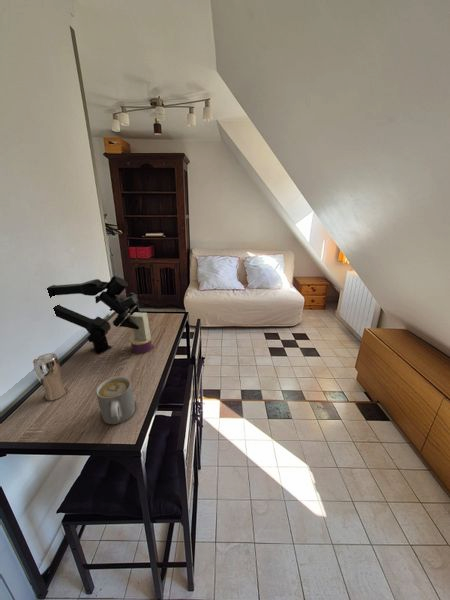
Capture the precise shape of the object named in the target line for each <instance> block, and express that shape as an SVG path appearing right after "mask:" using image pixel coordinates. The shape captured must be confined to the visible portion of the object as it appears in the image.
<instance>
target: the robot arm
mask: <svg viewBox="0 0 450 600" xmlns="http://www.w3.org/2000/svg"><path fill="white" fill-rule="evenodd" d="M128 285H129V284H128V282H127V281H126V279H124V278H122V277H119V276H117V275H113V276H112V277H111V278H110V280H109V281H102V280H101V279H99V278H96V279H92V280H88V281H85V282H82V283H70V284H69V283H68V284H52V285H50V286H47V287H48V288H47V287H46V288H47V290H48V293H49V296H50V298H51V297H52V296H55V295H57V296H65V295H66V296H67V295H83V296H87V297H88V296H89V297H94V299H95V304H99V302H101V303H103V304H104V305H105V306H107V307H108V308H109V311H110V312H112V311H113V312H115V313H116V314H117V317H115V318H114V319H113V321H112V325H113V326H115V327H116V328H118V327H119V328H129V329H132V330H133V329H137V330H138V329H139V327H138V326H137V325H136V324H135V323H134V322H133V321H132V320H131V318H130V316H131V315H132V314H133V313H135V312H141V310H140V302H139V299H138V294H137V293H134V292H133V291H132V292H129V293H128V294H127V295H128V296H127V297H126V298H124V297H118V296H120V295H121V294H122V293H123V292H124V291H125V289H126V288H127V287H128ZM98 294H99V295H98ZM53 309H54V311H55V314H56V316H55V317H56V318H59V319H62V320H64V321H67V322H69V323H71V324H74V325H76V326H79V327H81V328H84V329H85V330H86V331H87V332H88V334H90V335H89V336H88V337H87V338H86V339H87V341H88V342H89V343H92V346H93V348H91V349H90V351H91V352H94V353H96V354H103V353H104V352H106V351H108V350H110V349H111V348H112V346H111V345H109V343H108V342H109V341H108V338H107V336H106V335H108V334H109V331H110V330H111V324H110V322H109V321H108V320H107V319H105V318H102V317H100V316H96V317H95V318H91V317H88V316H86V315H83V314H81V313H78V312H76V311H74V310H72V309H70V308H67V307H65V306H63V305H61V304H59V305H57V306H55V307H54V308H53Z"/></svg>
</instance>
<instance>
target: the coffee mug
mask: <svg viewBox="0 0 450 600" xmlns="http://www.w3.org/2000/svg"><path fill="white" fill-rule="evenodd" d="M95 392H96V393H95V394H96V397H97V401H98V406H99V411H100V414H101V418H102V421H103V422H104V423H106V424H109V425H117V424H120V423H123V422H125V421H127V420H128V419H130V418H131V417H132V416H133V415H134V413H135V410H136V403H135V397H134V393H133V387H132V381H131V380H130V378H128V377H126V376H113V377H111V378H108V379H106V380H103V382H101V383H100V384H98V386H97V387H96V391H95Z"/></svg>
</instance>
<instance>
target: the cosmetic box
mask: <svg viewBox="0 0 450 600" xmlns="http://www.w3.org/2000/svg"><path fill="white" fill-rule="evenodd" d="M130 318H131V320H132V321H133V322H134V323H135V324H136V325H137V326H138V327H139V329H138V330H137V329H132V333H133V336H134V339H135V340H147V339H148V338H149V337H150V335H151V331H150V324H149V317H148V312H141V311H140V312H135V313H133V314H132V315H130Z"/></svg>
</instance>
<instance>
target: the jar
mask: <svg viewBox="0 0 450 600" xmlns="http://www.w3.org/2000/svg"><path fill="white" fill-rule="evenodd" d="M129 342H130V345H131V350H132V353H134V354H146V353H148V352H150V351H151V350H152V349H153V343H152V335H151V334H150V337H149V338H148V339H147V340H135V339H134V335H132V336H131V337H130V339H129Z"/></svg>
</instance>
